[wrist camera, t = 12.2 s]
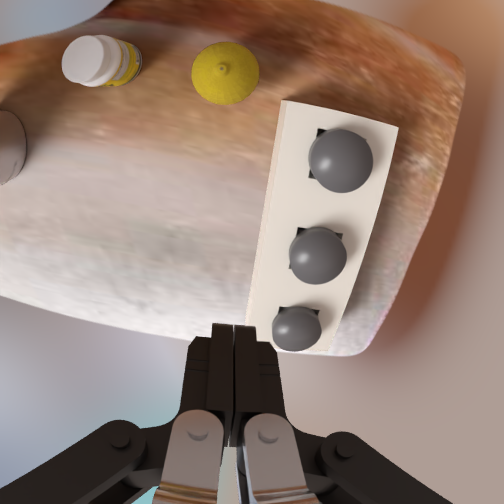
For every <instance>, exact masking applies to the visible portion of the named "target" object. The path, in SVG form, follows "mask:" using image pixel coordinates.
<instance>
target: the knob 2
mask: <svg viewBox="0 0 504 504" xmlns="http://www.w3.org/2000/svg"><path fill="white" fill-rule="evenodd" d="M308 162H309V167H310V170H311V172H312V174H313V175H314V177H315V178H316V179H317V181H318V182H319V183H320V184H321V185H322V186H323V187H324V188H326V189H328V190H329V191H332V192H336V193H348V192H352V191H354V190H356V189H358V188H360V187H361V186H362V185H363V184H364V183H365V182H366V181H367V180H368V178H369V176H370V174H371V172H372V168H373V155H372V151H371V148H370V146H369V145H368V143H367V142H366V141H365V140H364V139H363V138H362V137H361V136H359V135H358V134H356V133H354V132H351V131H349V130H346V129H339V128H336V129H330V130H327V131H325V132H323V133H320V134H318V135H317V136H316V139H315V140H314V142H313V143H312V145H311V147H310V150H309V155H308Z"/></svg>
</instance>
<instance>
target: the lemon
mask: <svg viewBox="0 0 504 504" xmlns="http://www.w3.org/2000/svg"><path fill="white" fill-rule="evenodd" d="M259 75H260V73H259V65H258V63H257V60H256V58H255V57H254V55H253V54H252V53H251V52H250V51H249V50H248V49H247V48H245V47H244V46H242V45H239V44H237V43H232V42H219V43H216V44H212V45H210V46H208V47H207V48H205V49H204V50H203V51H201V52H200V53H199V54H198V56H197V57H196V59H195V60H194V63H193V66H192V72H191V78H192V82H193V85H194V87H195V89H196V90H197V92H198V93H199V94H200V95H201V96H202V97H203V98H205V99H206V100H208V101H209V102H212V103H216V104H222V105H229V104H235V103H237V102H240V101H242V100H244V99H245V98H246V97H248V96H249V95H250V94H251V93H252V92H253V91H254V89H255V88H256V85H257V83H258V80H259Z"/></svg>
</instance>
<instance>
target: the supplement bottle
mask: <svg viewBox="0 0 504 504" xmlns="http://www.w3.org/2000/svg"><path fill="white" fill-rule="evenodd" d="M141 65H142V56H141V53H140V51H139V49H138V48H137V47H136V46H134V45H133V44H130V43H127V42H124V41H122V40H118V39H116V38H113V37H109V36H106V35H96V36H90V35H87V36H82V37H79V38H77V39H76V40H74V41H73V42H72V43H71V44H70V45H69V46H68V47H67V49H66V50H65V52H64V55H63V58H62V71H63V73H64V75H65V77H66V78H67V79H68V80H70V81H72V82H75V83H81V84H82V85H85V86H90V87H100V86H122V85H125V84H128V83H129V82H131V81H132V80H133V79H134V78H135V77H136V76H137V75H138V73H139V71H140V69H141Z"/></svg>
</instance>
